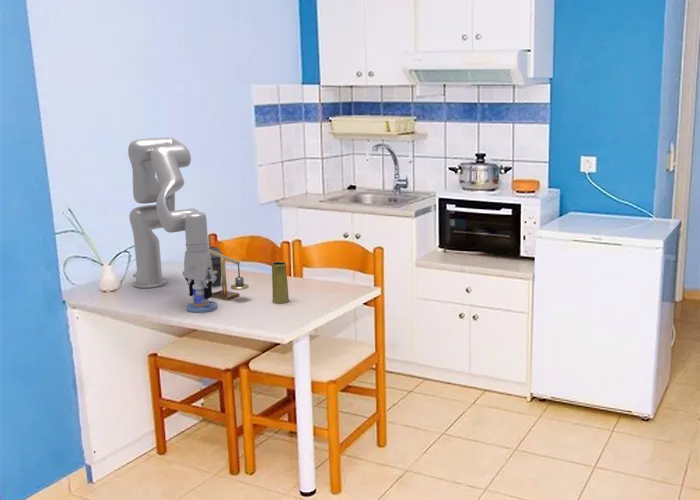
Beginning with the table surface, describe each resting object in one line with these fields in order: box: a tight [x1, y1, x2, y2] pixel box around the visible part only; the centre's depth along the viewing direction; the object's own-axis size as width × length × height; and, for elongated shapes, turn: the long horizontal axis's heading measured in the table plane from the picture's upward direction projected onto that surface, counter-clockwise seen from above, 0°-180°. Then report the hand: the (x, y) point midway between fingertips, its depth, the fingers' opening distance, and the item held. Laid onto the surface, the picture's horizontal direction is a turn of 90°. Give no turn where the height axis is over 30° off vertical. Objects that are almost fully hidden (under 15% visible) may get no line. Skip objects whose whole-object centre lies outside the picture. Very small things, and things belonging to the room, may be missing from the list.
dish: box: [185, 300, 218, 314], centre depth 273 cm, size 11×11×1 cm
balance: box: [208, 249, 249, 301], centre depth 285 cm, size 22×6×18 cm, turn 55°
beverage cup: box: [208, 235, 223, 288], centre depth 301 cm, size 7×7×20 cm
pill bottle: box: [192, 280, 210, 306], centre depth 272 cm, size 5×5×10 cm
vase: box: [271, 261, 290, 304], centre depth 278 cm, size 6×6×14 cm
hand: (200, 296), depth 272 cm, fingers open, 6 cm apart
